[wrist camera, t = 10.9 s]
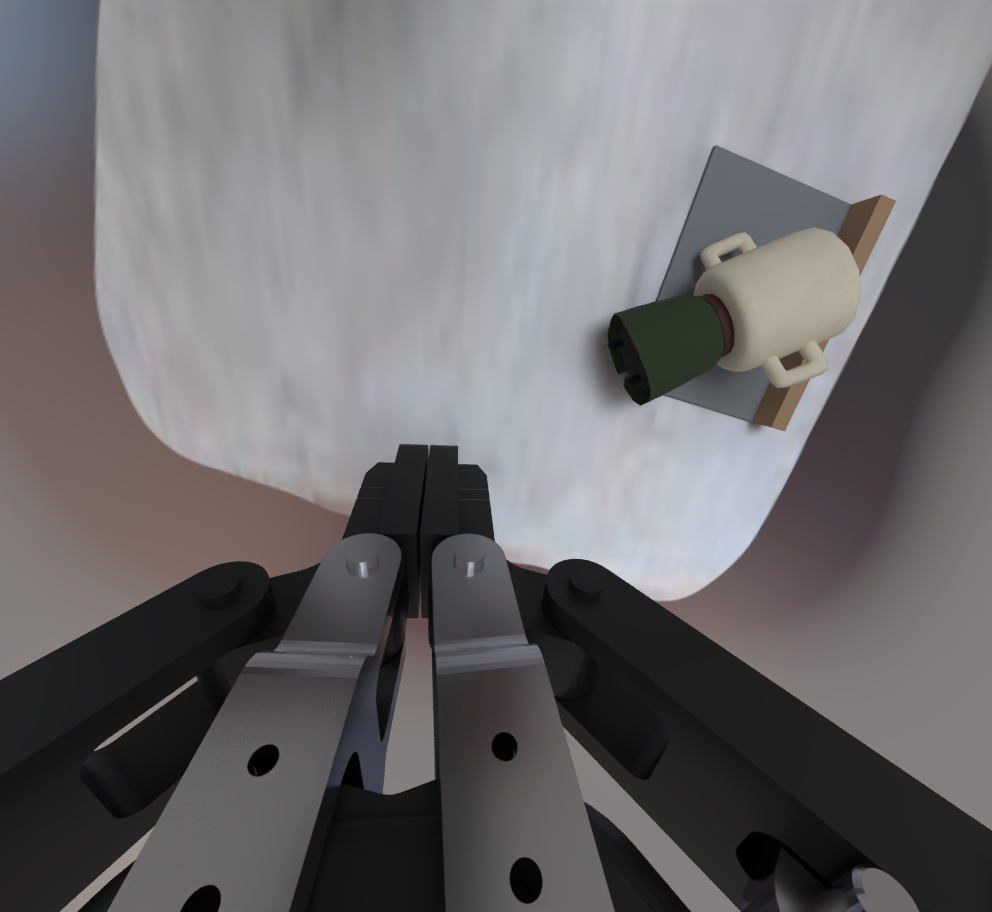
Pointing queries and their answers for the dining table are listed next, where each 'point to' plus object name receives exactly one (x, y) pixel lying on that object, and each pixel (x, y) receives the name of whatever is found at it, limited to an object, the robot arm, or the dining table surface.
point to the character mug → (742, 314)
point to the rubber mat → (764, 217)
